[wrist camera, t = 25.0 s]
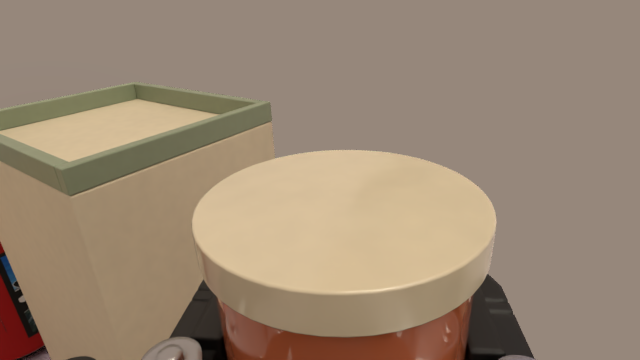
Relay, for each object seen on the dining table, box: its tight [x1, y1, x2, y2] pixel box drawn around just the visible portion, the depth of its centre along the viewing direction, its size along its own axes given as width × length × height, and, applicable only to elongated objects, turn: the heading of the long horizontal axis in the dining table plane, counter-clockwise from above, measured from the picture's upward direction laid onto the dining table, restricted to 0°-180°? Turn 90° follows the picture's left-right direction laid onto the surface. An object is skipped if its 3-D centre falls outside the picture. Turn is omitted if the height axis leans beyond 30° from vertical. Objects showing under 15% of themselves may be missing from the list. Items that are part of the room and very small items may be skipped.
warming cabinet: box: [0, 82, 275, 360], centre depth 24 cm, size 12×10×19 cm
